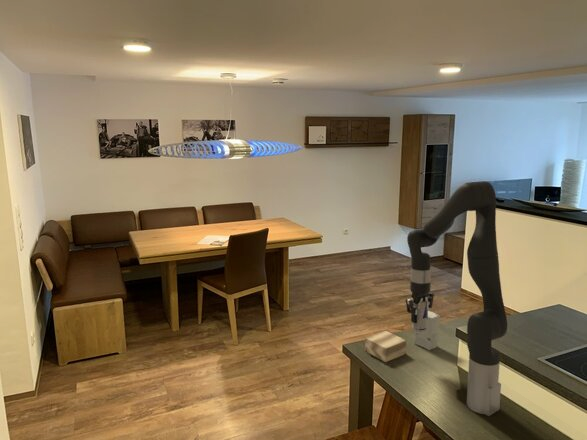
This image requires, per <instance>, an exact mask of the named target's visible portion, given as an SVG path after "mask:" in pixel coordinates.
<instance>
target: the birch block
mask: <svg viewBox="0 0 587 440" xmlns="http://www.w3.org/2000/svg"><path fill="white" fill-rule="evenodd" d="M364 351H365V352H366V351H367V352H366V353H368V354H370V355H371V356H374V357H375V358H377V359H378V360H381V361H383V362H385V363H387V362H389V361H392V360H394V359H397V358H399V357H402V356H404V355H406V354H407V340H406V339H404V338H402V337H400V336H397V335H396V334H394V333H391V332H389V331H387V330H383V331H381V332H377V333H375V334H372V335H369V336H366V337H364Z"/></svg>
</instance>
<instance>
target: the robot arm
mask: <svg viewBox="0 0 587 440" xmlns="http://www.w3.org/2000/svg"><path fill="white" fill-rule="evenodd" d="M496 209H497V197H496V192H495V187H494V186H493V185H492V184H491V183H490V182H489V181H482V180H481V181H471V182H465V183H462V184H460V185H459V187H458V188H456V190H455V191H454V192H453V193H452V195H451V196H450V197H449V199H448V200H447V201H446V203H445V204H444V205H443V206H442V207H441V208H440V209H439V210H438V212H436V213H435V214H434V215H433V216H432V217H431V218H429V219H428V220H427V221H425V223H424V225H423V228H419V229H418V228H417V229H412V230H410V231H409V233H408V234H407V237H406V239H407V245H408V249H409V253H410V257H411V260H410V261H411V266H410V286H409V289H410V293H412V294H411V296H410V298H406V299H405V305H406V312H407V313H408V314H410V317H411V318H410V320H411V323H415V324H416V323H417V312H418V309H420V302H423V301H427V317H428V311H430V309H432V308H433V304H434V303H433V302H434V296H435V294H434V292H433V293H432V292H431V283H432V282H431V278H432V275H431V255H430V254H429V253H428V252H422V248H427V247H431V246H433V245H435V244H436V243H437V241H439V238H440V237H441V236H442V235H444V234H445V233H446V232H447V231H448V230H450V228H452V226H453V224H454V222H455V219H456V218H457V217H458V216H460V215H462V214H464V213H466V212H474V211H475V226H474V227H475V228H474V231H473V234H472V236H471V237H470V238H471V239H470V240H469V244H468V246H467V250H466V258H467V268H468V273H469V275H470V277H471V279H472V281H473V282H474V283H475V285H476V286H477V288H478V289H479V292H480V294H481V297H482V302H483V303H482V304H483V310H482V311H479V312H476V313H473V314H472V315H470V316H469V318H468V321H467V326H466V334H467V335H466V337H467V338H466V343H467V344H466V345H467V350H468V373H467V388H466V389H467V391H466V392H467V393H466V406H467V408H468V409H469V410H471V411H473V412H475V413H478V414H479V415H485V416H487V417H490V416H492V415H494V414H496V412H498V411H499V410H500V405H501V404H500V403H501V390H502V389H501V388H502V383H500V382H499V379H500V378H499V376H500V365H501V353H500V352H499V351H498V350H497V349H496V348H494V347H492V341H494V340H495V341H496V340H497V339H501V338H503V337H504V336H505V335H506V334H507V332H508V320H507V319H508V318H507V314H506V308H505V305H504V304H505V303H504V299H503V293H502V284H501V277H500V262H499V252H498V243H497V242H498V241H497V229H496V228H497V225H496V224H497V223H496V221H497V220H496V217H497V215H496V212H497V210H496ZM413 302H414V303H415V304H418V305H417V306H414V305H413V304H414V303H413ZM414 308H415V311H414Z"/></svg>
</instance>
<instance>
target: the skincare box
mask: <svg viewBox="0 0 587 440" xmlns="http://www.w3.org/2000/svg"><path fill="white" fill-rule="evenodd" d="M440 320H441V316H440V315H439V314H438V313H435V312H433V311H430V310H428V317H427V320H426V330H425V331H423V332H418V331H415V330H414V331H415V332H414V333H415V334H414V344H415V345H416V346H419V347H422V348H424V349H426V350H428V351H431V350H433V349H436V348H437V347H438V346H439V345H438V342H439V331H440Z"/></svg>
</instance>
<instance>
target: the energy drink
mask: <svg viewBox="0 0 587 440" xmlns="http://www.w3.org/2000/svg"><path fill="white" fill-rule="evenodd" d="M413 303H414V302H413ZM413 305H414V306H417V305H418V304H415V303H414V304H413ZM414 311H415V308H414ZM426 320H427V301H423V302H420V309H418V312H417V323H416V324H415V323H412V322H411V323H412V324H411V325H412V327H411V329H412V331H418V332H423V331H425V330H426Z"/></svg>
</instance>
